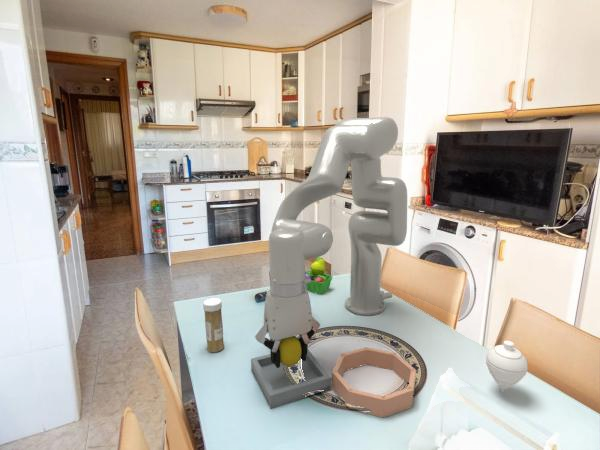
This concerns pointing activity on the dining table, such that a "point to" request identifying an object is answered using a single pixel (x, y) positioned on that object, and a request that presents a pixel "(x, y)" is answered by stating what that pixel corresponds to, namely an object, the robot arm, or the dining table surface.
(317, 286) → the fruit basket
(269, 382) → the grey tray
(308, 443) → the dining table surface
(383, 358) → the terracotta ring
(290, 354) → the lemon
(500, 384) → the spinning top
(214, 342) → the sprinkles bottle
